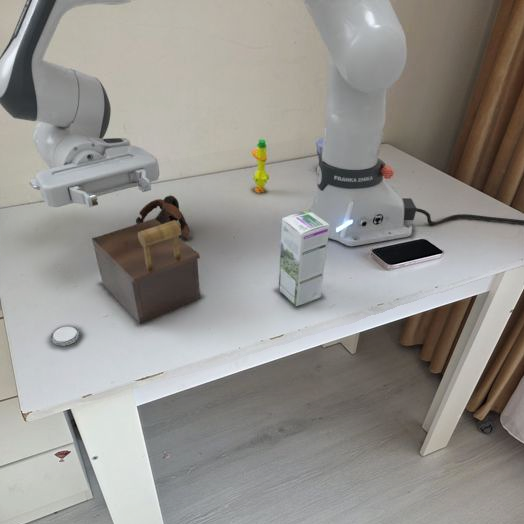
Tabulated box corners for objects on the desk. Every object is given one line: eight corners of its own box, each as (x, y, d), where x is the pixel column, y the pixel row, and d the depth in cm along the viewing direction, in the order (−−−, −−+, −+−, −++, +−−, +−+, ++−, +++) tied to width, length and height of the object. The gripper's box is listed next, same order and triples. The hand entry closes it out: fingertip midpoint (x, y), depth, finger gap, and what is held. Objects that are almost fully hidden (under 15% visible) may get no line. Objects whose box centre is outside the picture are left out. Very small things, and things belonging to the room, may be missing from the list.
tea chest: (200, 297, 85) (197, 256, 79) (139, 323, 79) (131, 281, 74) (160, 262, 93) (155, 222, 87) (102, 284, 87) (92, 242, 81)
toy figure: (246, 186, 118) (246, 135, 110) (259, 183, 119) (261, 133, 111) (258, 197, 114) (260, 145, 105) (272, 194, 115) (274, 143, 107)
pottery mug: (189, 249, 97) (165, 220, 91) (152, 261, 101) (126, 234, 95) (198, 208, 103) (176, 178, 97) (163, 221, 107) (139, 193, 101)
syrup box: (322, 297, 86) (332, 223, 76) (294, 308, 83) (302, 232, 73) (303, 281, 89) (310, 208, 79) (276, 291, 87) (280, 216, 77)
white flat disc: (54, 348, 74) (53, 345, 74) (50, 332, 77) (49, 329, 76) (81, 341, 76) (80, 338, 75) (76, 326, 78) (75, 323, 78)
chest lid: (200, 258, 79) (197, 218, 74) (134, 283, 73) (126, 242, 68) (155, 222, 87) (149, 184, 82) (92, 242, 81) (83, 203, 76)
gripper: (19, 160, 79) (52, 191, 71) (133, 135, 88) (173, 160, 81) (31, 197, 83) (62, 230, 75) (138, 169, 93) (176, 196, 85)
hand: (120, 194), depth 78 cm, fingers open, 8 cm apart
